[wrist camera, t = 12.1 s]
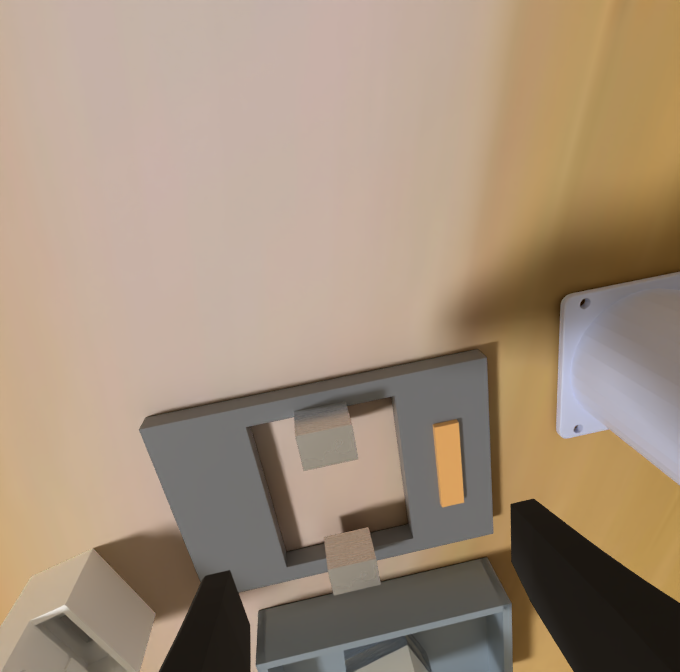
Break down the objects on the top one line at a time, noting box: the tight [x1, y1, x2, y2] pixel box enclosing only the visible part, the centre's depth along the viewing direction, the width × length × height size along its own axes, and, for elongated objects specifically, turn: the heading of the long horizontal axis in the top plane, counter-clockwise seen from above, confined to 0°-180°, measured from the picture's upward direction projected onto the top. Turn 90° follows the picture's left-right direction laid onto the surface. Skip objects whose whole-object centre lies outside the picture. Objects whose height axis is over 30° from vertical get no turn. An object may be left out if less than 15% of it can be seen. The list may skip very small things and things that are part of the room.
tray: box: [256, 557, 513, 672], centre depth 27 cm, size 14×11×3 cm
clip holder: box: [139, 349, 493, 595], centre depth 21 cm, size 16×11×3 cm
